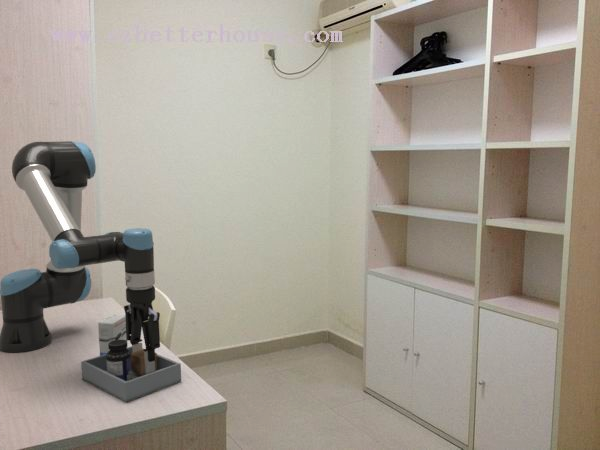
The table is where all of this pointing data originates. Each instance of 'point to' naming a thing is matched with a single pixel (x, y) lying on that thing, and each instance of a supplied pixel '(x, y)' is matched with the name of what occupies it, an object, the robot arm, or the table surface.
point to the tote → (139, 385)
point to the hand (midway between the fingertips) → (144, 369)
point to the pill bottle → (119, 360)
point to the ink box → (111, 331)
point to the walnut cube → (140, 362)
